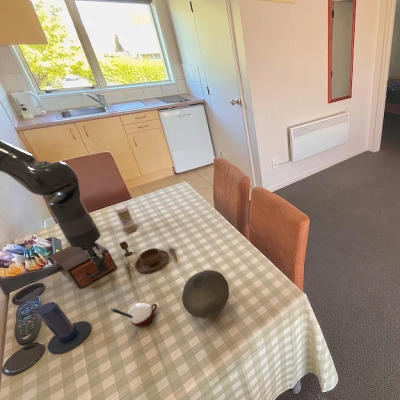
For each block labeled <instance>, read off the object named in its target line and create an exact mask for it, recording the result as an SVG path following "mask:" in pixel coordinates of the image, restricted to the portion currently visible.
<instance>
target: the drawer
mask: <svg viewBox="0 0 400 400" xmlns="http://www.w3.org/2000/svg"><path fill="white" fill-rule="evenodd" d="M105 254H106V261H104V263H105V264H106V266H107V269H106V270H104V271H103V272H100V271H98V270H97V268H96V266H95V264H94V263H93V262H91V260H90V261H88V262H86V263H84V264H82V265H80V266H78V267H76V268H75V269H73V270H71V271H70V272H71V273H72V275H73V276H74V278H75V279H76V281H77V282H78V283H79V285H80V286H81V288H83V287H85V286H87V285H88V284H90V283H92V282H94V281H95V280H97V279H99V278H101V277H102V276H104V275H105V274H107V273H109V272H111V271H112V270H115V267H116V266H117V265H116V266H115V265H114V263H113V261H114V260H113V261H112V259H113V258H112V259H111V257H112V256H111V257H110V256H109V254H108V253H107V252H106V253H105ZM116 268H117V267H116ZM110 270H111V271H110ZM108 271H109V272H108ZM103 274H104V275H103ZM98 277H99V278H98ZM96 278H97V279H96ZM91 281H92V282H91ZM84 285H85V286H84Z"/></svg>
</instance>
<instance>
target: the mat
mask: <svg viewBox="0 0 400 400" xmlns="http://www.w3.org/2000/svg"><path fill="white" fill-rule="evenodd" d="M72 324H73V325H74V326H75V328H76V329H77V330H78V335H77V337H76V338H75V339H73V340H72V341H70V342H68V343H61V342H60V341H59V340H58V338H57V337H56V336H55V335H54V334H53V336H52V337H51V338H50V339H49V342H48V343H47V350H48V352H49V353H51V354H53V355H61V354H64V353H68V352H70V351H71V350H73V349H75V348H77V347H79V346H80V345H81V344H82V343H83V342H84V341H86V340H87V338H88V337H89V335H90V334H91V332H92V325H91V324H90V323H89V322H88V321H86V320H85V321H84V320H81V321H79V320H78V321H75V322H72Z"/></svg>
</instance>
